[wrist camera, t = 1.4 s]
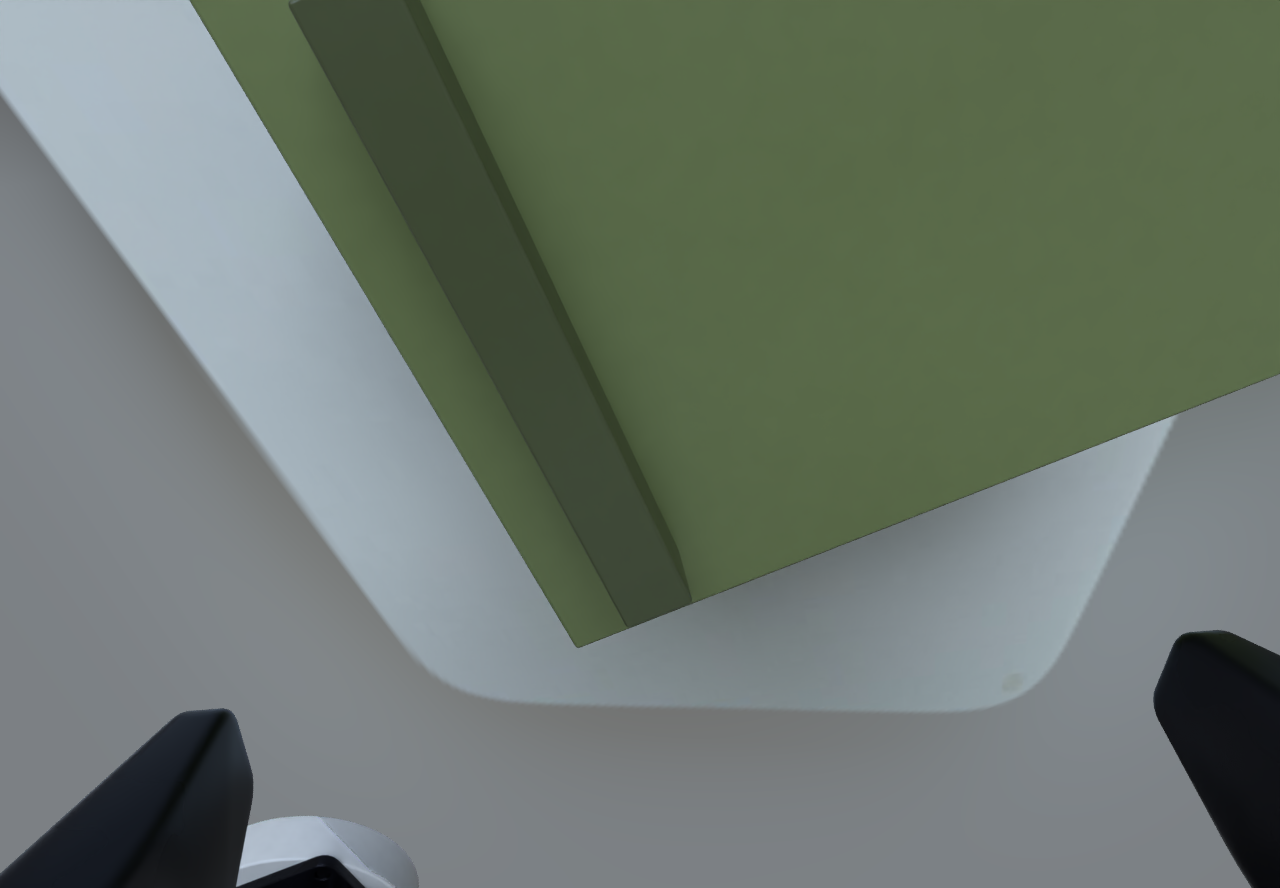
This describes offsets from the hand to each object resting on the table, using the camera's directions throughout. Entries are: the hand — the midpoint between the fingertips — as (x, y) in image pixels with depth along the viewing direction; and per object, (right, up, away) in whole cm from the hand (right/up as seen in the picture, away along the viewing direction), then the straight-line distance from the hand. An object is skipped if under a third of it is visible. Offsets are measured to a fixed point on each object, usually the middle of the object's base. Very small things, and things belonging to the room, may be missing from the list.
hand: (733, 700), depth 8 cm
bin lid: (+2, +7, +5) cm, 9 cm away
